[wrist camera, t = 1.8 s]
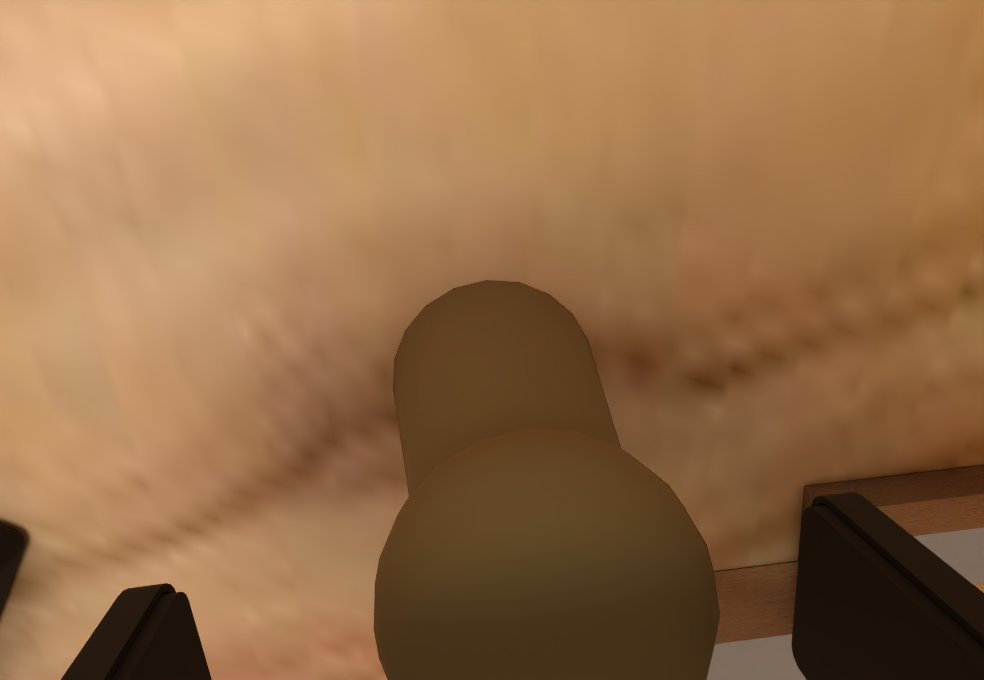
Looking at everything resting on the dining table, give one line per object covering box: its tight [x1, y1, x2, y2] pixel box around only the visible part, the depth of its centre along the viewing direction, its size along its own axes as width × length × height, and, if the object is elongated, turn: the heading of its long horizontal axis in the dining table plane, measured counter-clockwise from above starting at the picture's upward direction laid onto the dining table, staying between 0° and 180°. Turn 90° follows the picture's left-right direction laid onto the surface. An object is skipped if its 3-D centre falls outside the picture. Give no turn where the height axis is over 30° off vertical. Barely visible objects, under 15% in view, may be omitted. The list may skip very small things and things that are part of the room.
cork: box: [374, 280, 720, 680], centre depth 13 cm, size 6×6×11 cm
